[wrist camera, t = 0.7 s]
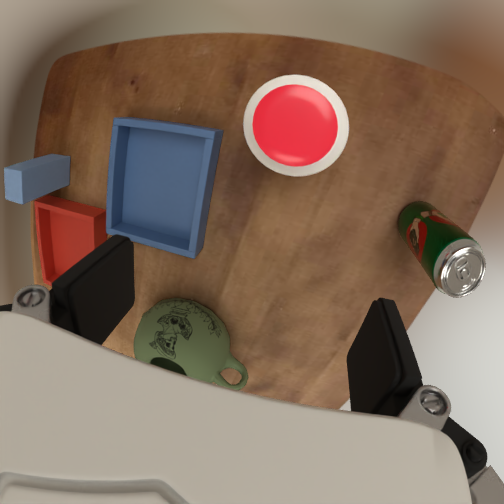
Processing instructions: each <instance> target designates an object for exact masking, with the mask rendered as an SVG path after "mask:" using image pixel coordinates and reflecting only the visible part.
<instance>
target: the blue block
mask: <svg viewBox="0 0 504 504" xmlns="http://www.w3.org/2000/svg"><path fill="white" fill-rule="evenodd" d="M4 178H5V198H6V199H7V200H10V201H13V202H16V203H20V204H25V203H27V202H30V201H32V200H34V199H36V198H39V197H41V196H43V195H46V194H48V193H50V192H53V191H55V190H58V189H60V188H63V187H65V186H68V185H69V181H70V156H64V155H57V154H49V155H45V156H42V157H38V158H34V159H31V160H28V161H24V162H21V163H18V164H14V165H11V166H8V167H5V168H4Z"/></svg>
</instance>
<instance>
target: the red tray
mask: <svg viewBox="0 0 504 504" xmlns="http://www.w3.org/2000/svg"><path fill="white" fill-rule="evenodd" d="M35 216H36V228H37V238H38V247H39V255H40V262H41V268H42V274H43V280H44V283H46V284H48V285H50V286H52V284H51V283H52V282H53V281H54V280H56V279H57V278H58V277H59V276H61V275H62V274H63V273H64V272H66V271H67V270H68V269H69V268H71V267H72V266H73V265H75V264H76V263H77V262H78V261H80V260H81V259H82V258H84V257H85V256H86V255H88V254H89V253H90V252H92V251H93V250H94V249H96V248H97V247H98V246H100V245H101V244H102V243H104V242H105V241H106V240H107V233H106V210H104V209H101V208H97V207H93V206H89V205H85V204H81V203H78V202H74V201H70V200H66V199H62V198H58V197H54V196H51V195H47V196H45V197H42V198H40V199H38V200H35Z"/></svg>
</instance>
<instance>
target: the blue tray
mask: <svg viewBox="0 0 504 504" xmlns="http://www.w3.org/2000/svg"><path fill="white" fill-rule="evenodd" d="M222 135H223V130H219V129H213V128H207V127H202V126H196V125H189V124H183V123H176V122H169V121H161V120H153V119H144V118H135V117H118V118H114V120H113V128H112V137H111V146H110V156H109V169H108V184H107V207H106V233H107V234H110V235H115V234H118V235H122V236H126V237H129V238H130V240H131V241H134V242H137V243H141V244H144V245H148V246H151V247H154V248H158V249H161V250H165V251H168V252H172V253H175V254H179V255H182V256H186V257H189V258H193V259H195V257H196V256H197V255H198V253H199V252H200V251H201V249H202V248H203V243H204V237H205V230H206V224H207V218H208V212H209V206H210V200H211V194H212V189H213V183H214V177H215V172H216V167H217V161H218V156H219V151H220V146H221V140H222Z"/></svg>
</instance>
